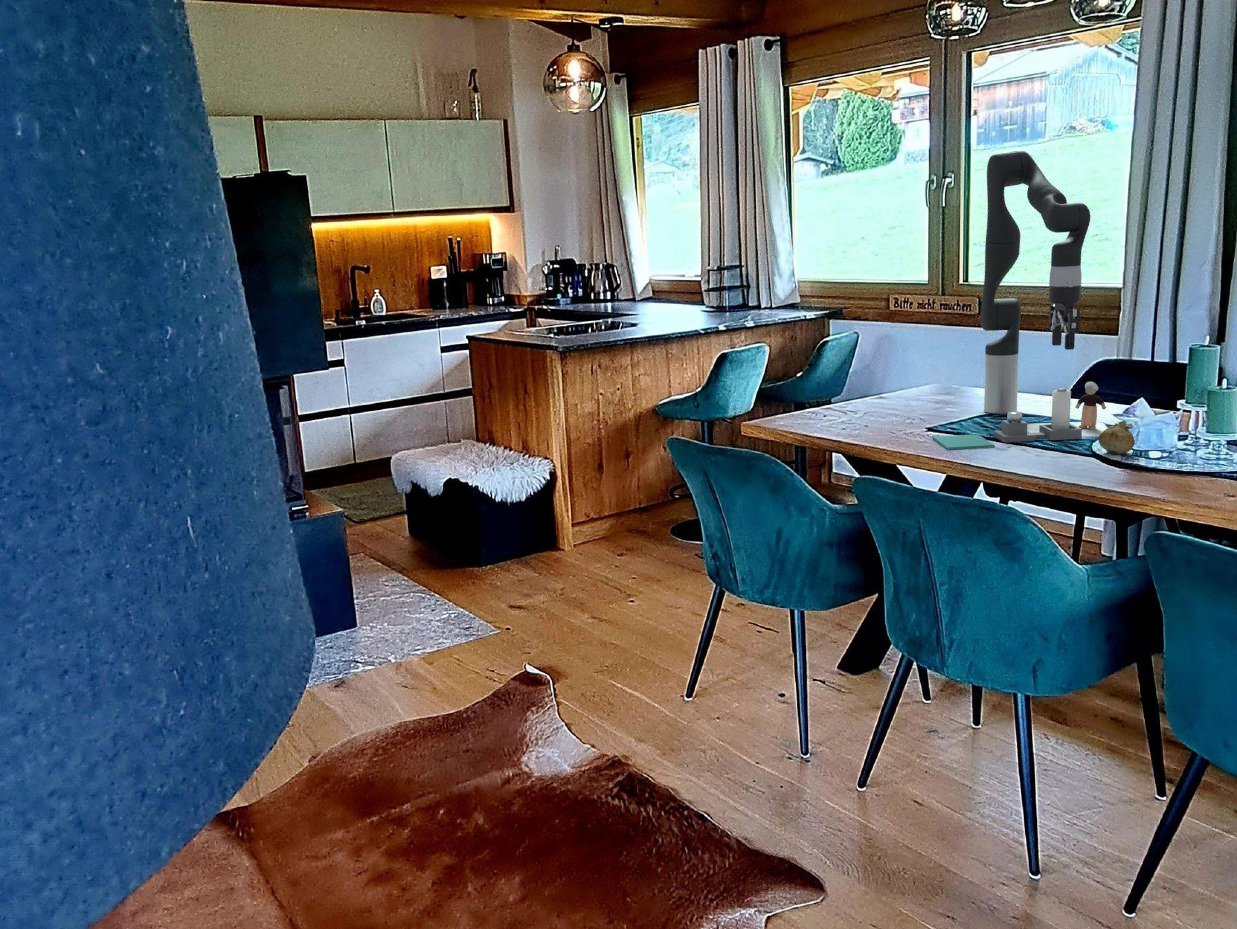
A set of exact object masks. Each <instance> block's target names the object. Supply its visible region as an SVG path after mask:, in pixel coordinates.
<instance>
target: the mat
mask: <svg viewBox="0 0 1237 929" xmlns="http://www.w3.org/2000/svg"><path fill="white" fill-rule="evenodd" d="M932 440H933V441H935V442H937V443H938V444H939V445H940V446H941V447H943V448H944V449H945V450H948V451H949V450H951V451H953V450H966V449H967V450H969V449H971V450H972V449H986V448H995V446H996V445H995V444H994V443H992V442H991V441H989V440H988V439H986V438H984V437H983V436H981V435H980V434H977V433H976V434H958V435H957V434H956V435H937V436H935V435H934V436H932Z"/></svg>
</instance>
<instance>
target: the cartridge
mask: <svg viewBox="0 0 1237 929" xmlns="http://www.w3.org/2000/svg"><path fill="white" fill-rule="evenodd" d="M1051 396H1052V397H1051V399H1052V401H1051V402H1052V403H1051V423H1050V424H1051V429H1052V430H1060V429H1069V427H1070V424H1071V423H1070V420H1071V396H1072V391H1071V390H1070V389H1067V388H1063V387H1058V388H1056V389H1055V390H1052V395H1051Z"/></svg>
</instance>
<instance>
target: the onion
mask: <svg viewBox="0 0 1237 929" xmlns="http://www.w3.org/2000/svg"><path fill="white" fill-rule="evenodd" d="M1126 423H1127V421H1126V420H1122V421H1118V422H1117V423H1114V424H1112V425H1111V426H1109V427H1107V428H1106V429H1104V430H1103V431H1102V432H1101V433H1100V434H1099V435H1098V443H1099V446H1101V448H1102V450H1105V451H1106V452H1107V453H1110V454H1111V453H1113V455H1123V454H1127V453H1129V452H1130V451H1131V450H1132V449H1133V448H1134V446H1135V444H1136V440H1135V437H1134V436H1133V433H1132V432H1131V431H1130V430H1131V429H1133V428H1134V424H1133V423H1127V424H1126Z"/></svg>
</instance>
